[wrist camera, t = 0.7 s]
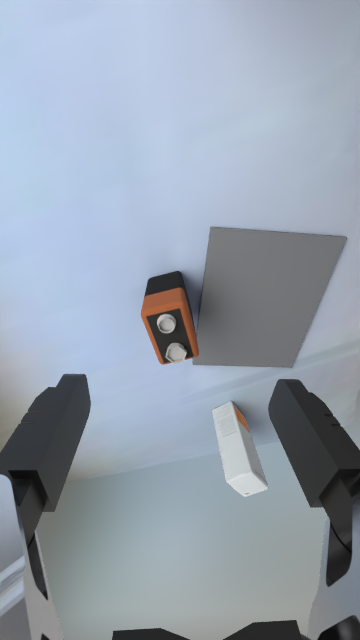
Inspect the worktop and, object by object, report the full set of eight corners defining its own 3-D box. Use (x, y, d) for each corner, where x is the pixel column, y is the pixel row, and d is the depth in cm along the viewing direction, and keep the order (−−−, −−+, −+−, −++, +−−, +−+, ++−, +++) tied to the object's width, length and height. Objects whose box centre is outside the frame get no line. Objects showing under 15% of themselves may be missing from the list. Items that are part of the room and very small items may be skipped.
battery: (162, 322, 32) (160, 373, 23) (146, 277, 28) (137, 317, 20) (192, 315, 31) (201, 364, 23) (180, 269, 28) (185, 305, 19)
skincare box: (246, 417, 43) (270, 489, 33) (226, 425, 44) (243, 498, 34) (231, 399, 40) (252, 472, 30) (210, 409, 41) (224, 482, 31)
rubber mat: (210, 226, 26) (211, 227, 25) (344, 236, 27) (347, 237, 26) (192, 362, 36) (192, 364, 35) (290, 365, 37) (291, 367, 36)
